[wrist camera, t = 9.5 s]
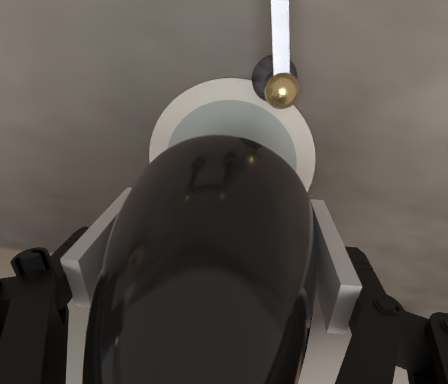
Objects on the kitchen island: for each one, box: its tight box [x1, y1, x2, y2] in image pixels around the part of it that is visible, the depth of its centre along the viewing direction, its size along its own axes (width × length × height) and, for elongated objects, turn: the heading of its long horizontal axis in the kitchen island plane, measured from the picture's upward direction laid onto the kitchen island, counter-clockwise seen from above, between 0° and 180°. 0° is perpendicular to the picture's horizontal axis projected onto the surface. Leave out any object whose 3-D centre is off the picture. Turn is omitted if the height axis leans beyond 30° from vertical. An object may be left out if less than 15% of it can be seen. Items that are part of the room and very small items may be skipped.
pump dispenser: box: [82, 134, 317, 384], centre depth 13 cm, size 10×10×15 cm
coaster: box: [149, 78, 315, 192], centre depth 24 cm, size 14×14×1 cm
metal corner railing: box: [252, 0, 300, 109], centre depth 16 cm, size 11×10×8 cm
